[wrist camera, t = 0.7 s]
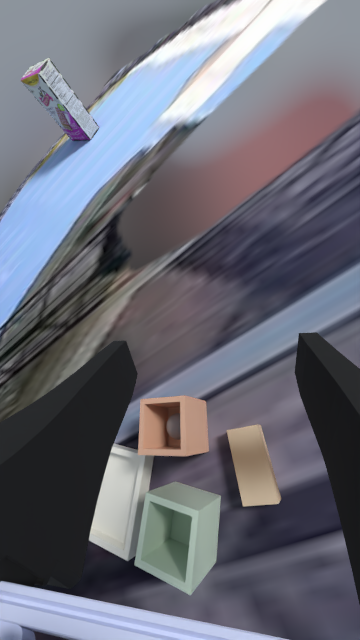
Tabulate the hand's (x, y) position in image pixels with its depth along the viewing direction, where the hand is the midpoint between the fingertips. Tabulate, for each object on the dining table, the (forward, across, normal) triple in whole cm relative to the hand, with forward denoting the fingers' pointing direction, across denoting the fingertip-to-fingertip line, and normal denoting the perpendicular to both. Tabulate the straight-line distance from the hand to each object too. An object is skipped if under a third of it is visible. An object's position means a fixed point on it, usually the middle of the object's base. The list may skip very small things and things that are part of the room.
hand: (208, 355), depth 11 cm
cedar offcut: (+5, -2, +18) cm, 19 cm away
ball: (+7, +5, +16) cm, 18 cm away
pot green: (+2, +4, +22) cm, 22 cm away
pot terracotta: (+8, +5, +18) cm, 20 cm away
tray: (+4, +13, +23) cm, 27 cm away
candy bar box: (+78, +38, -19) cm, 89 cm away
